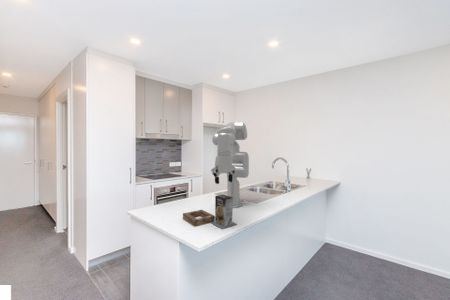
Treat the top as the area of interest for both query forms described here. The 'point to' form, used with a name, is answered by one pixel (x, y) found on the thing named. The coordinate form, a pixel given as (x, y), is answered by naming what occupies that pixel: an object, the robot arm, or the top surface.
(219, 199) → the coffee box
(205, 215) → the pocket holder
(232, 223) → the rubber mat
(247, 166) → the robot arm
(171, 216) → the top surface
